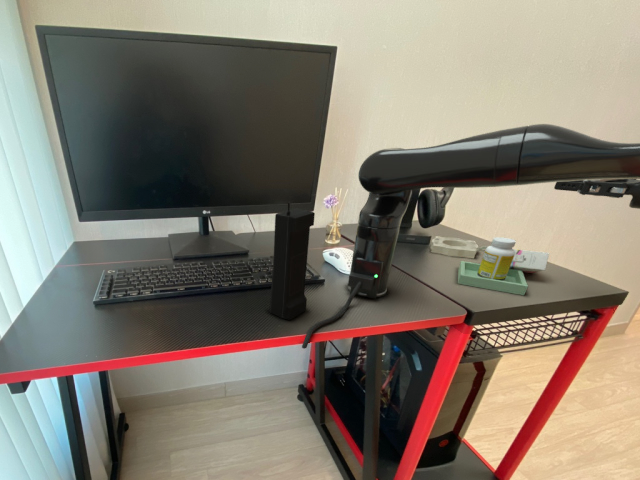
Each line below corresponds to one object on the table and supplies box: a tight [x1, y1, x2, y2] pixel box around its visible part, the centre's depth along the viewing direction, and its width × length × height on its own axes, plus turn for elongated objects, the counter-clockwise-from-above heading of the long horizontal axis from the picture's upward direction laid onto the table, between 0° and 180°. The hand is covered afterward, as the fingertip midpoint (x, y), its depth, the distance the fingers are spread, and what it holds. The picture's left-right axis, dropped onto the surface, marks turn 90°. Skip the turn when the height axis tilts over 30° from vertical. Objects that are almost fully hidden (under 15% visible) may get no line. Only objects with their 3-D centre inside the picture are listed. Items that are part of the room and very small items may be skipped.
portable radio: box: [268, 201, 316, 321], centre depth 69 cm, size 8×6×25 cm
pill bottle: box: [477, 236, 517, 281], centre depth 84 cm, size 6×6×11 cm
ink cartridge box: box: [476, 246, 550, 274], centre depth 90 cm, size 9×5×15 cm
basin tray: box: [457, 260, 529, 296], centre depth 86 cm, size 12×14×2 cm
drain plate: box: [429, 235, 479, 259], centre depth 109 cm, size 13×13×2 cm
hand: (560, 181), depth 71 cm, fingers open, 8 cm apart
